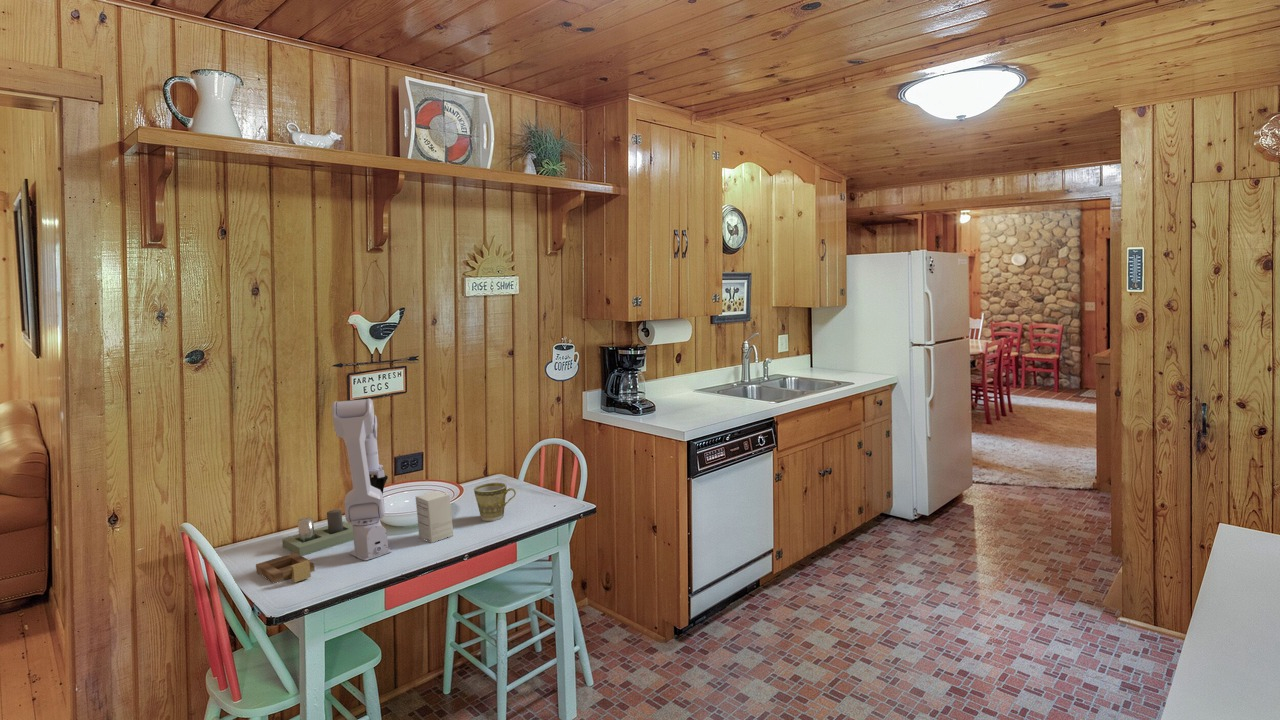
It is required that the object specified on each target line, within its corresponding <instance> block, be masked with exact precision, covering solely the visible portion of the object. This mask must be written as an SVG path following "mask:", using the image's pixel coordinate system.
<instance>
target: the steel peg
mask: <svg viewBox="0 0 1280 720" xmlns="http://www.w3.org/2000/svg"><path fill="white" fill-rule="evenodd" d="M297 527H298V528H297V529H298V534H299V539H300V542H302V543H304V542H307V541H310V540H314V539H315V533H314V530H315V526H314V518H313V517H304V518H300V519H298V520H297Z"/></svg>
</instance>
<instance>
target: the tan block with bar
mask: <svg viewBox="0 0 1280 720" xmlns="http://www.w3.org/2000/svg"><path fill="white" fill-rule="evenodd" d="M291 575H292V578H291V581H292V582H293V583H297V582H300V581H303V580H306V579H309V578H311V577H312V575H311V572H310V563H309V561H304V562H301V563H298V564H294V565H291Z"/></svg>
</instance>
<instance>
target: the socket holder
mask: <svg viewBox="0 0 1280 720" xmlns="http://www.w3.org/2000/svg"><path fill="white" fill-rule="evenodd" d="M304 561H309V563H310V573H311V572H314V571H315V563H314V561H312V560H310V559H308V558H307V557H304V555H303V556H301V555H299V554H297V553H293V552H291V553H289V554H286V555H285V554H284V555H282V556H278V557H275V558H272V559H268V560H266V561H263V562H259V563H256V564H255V568H256V569H255V570H256V573H257V572H258V573H259V574H258V573H257V574H258V575H260V574H261V575H260V576H262V575H263V576H264V577H263V576H262V577H263V578H265V577H266V578H267V580H268V579H269V582H271V581H272V582H271V583H273V582H274V583H275V584H277V582H278V583H281V582H284V581H287V580H290V579H292V575H291V565H294V564H298V563H301V562H304ZM266 578H265V579H266ZM283 580H284V581H283ZM280 581H281V582H280ZM274 583H273V584H274Z"/></svg>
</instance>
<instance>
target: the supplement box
mask: <svg viewBox="0 0 1280 720" xmlns="http://www.w3.org/2000/svg"><path fill="white" fill-rule="evenodd" d="M451 503H452V502H451V495H450V494H449V493H447V492H443V491H440V490H435V491H431V492H428V493H423V494H420V495H416V496H415V505H416V517H417V527H418V528H417V529H418V537H419V538H420V539H421V538H422V539H421V540H423V539H425V540H427V541H426V542H428V541H429V543H430V542H431V543H430V544H433V543H436V542H439V541H441V540H442V541H443V540H445V539H448V538H451V537H454V527H453V516H452V504H451ZM447 537H448V538H447ZM444 538H445V539H444ZM425 540H424V541H425ZM438 540H439V541H438ZM435 541H436V542H435Z"/></svg>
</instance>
